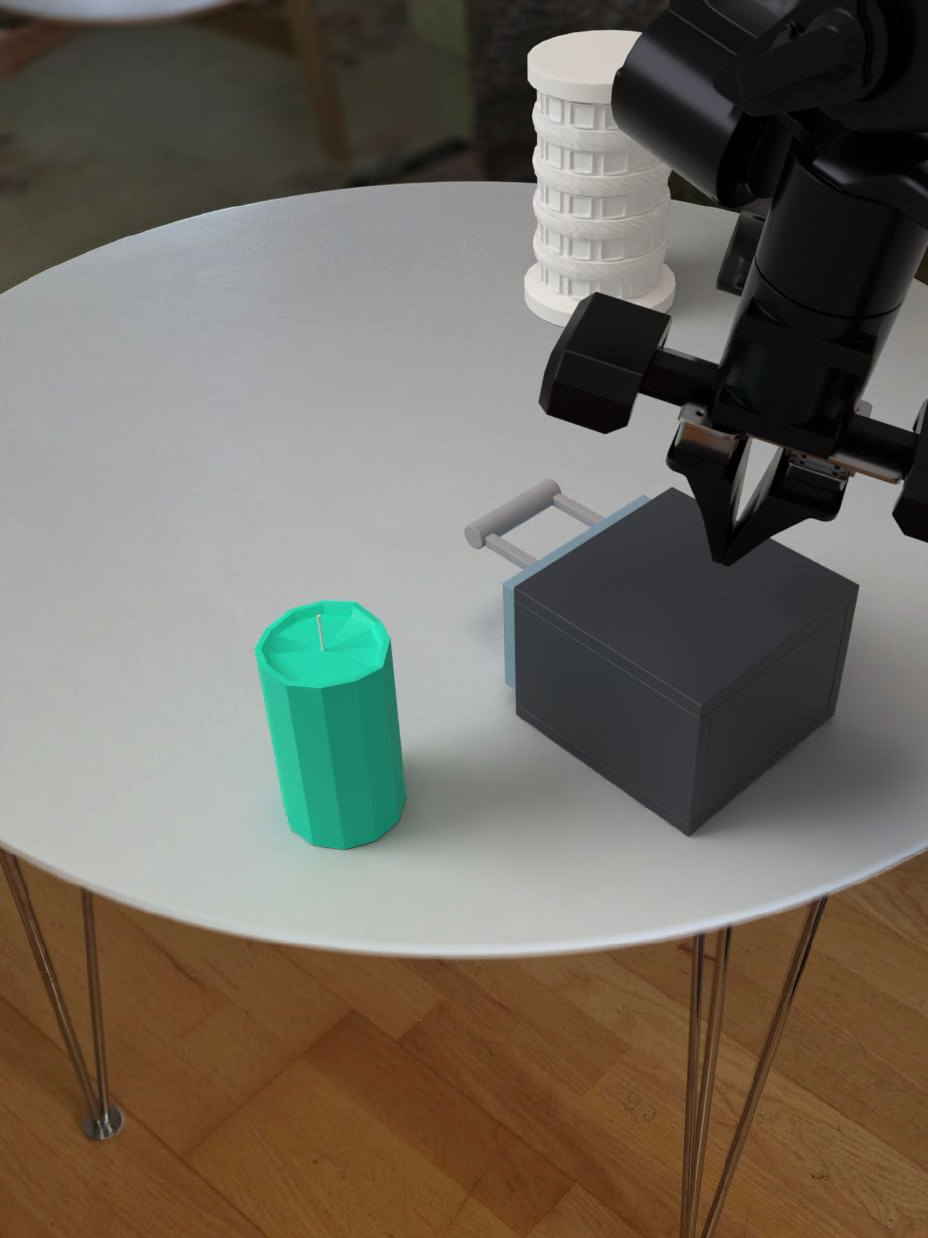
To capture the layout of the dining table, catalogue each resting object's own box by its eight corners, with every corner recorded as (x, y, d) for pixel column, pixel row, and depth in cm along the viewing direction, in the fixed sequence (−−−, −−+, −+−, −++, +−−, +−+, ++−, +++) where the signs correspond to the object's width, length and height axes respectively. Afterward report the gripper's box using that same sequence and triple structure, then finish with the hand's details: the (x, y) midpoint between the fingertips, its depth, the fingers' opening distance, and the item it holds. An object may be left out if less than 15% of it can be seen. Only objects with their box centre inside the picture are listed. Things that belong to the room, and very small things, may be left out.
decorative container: (515, 267, 110) (511, 34, 98) (657, 255, 110) (671, 22, 98) (535, 337, 101) (534, 91, 89) (689, 324, 101) (709, 78, 90)
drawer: (438, 637, 74) (431, 538, 70) (570, 553, 80) (571, 455, 75) (657, 789, 66) (665, 686, 61) (790, 683, 71) (806, 581, 66)
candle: (321, 869, 64) (289, 682, 56) (262, 791, 68) (225, 605, 60) (429, 813, 66) (414, 626, 58) (367, 740, 70) (344, 555, 62)
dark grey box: (515, 714, 71) (513, 586, 65) (662, 611, 77) (671, 485, 71) (688, 837, 64) (702, 706, 59) (835, 714, 70) (860, 584, 65)
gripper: (1096, 235, 54) (946, 512, 66) (649, 102, 57) (582, 391, 69) (1077, 399, 47) (913, 676, 59) (567, 238, 50) (509, 534, 62)
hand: (722, 557), depth 62 cm, fingers closed
